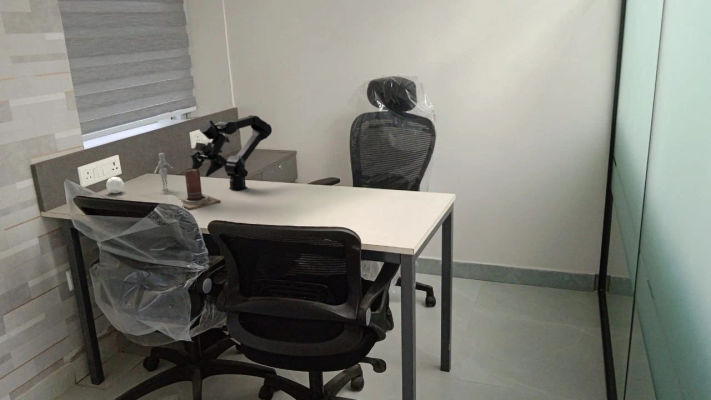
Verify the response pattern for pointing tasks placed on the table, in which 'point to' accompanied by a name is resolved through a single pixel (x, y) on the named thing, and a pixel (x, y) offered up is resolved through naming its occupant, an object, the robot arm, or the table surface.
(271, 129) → the robot arm
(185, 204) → the cup holder
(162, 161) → the human figurine
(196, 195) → the can
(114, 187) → the geometric ball
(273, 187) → the table surface
